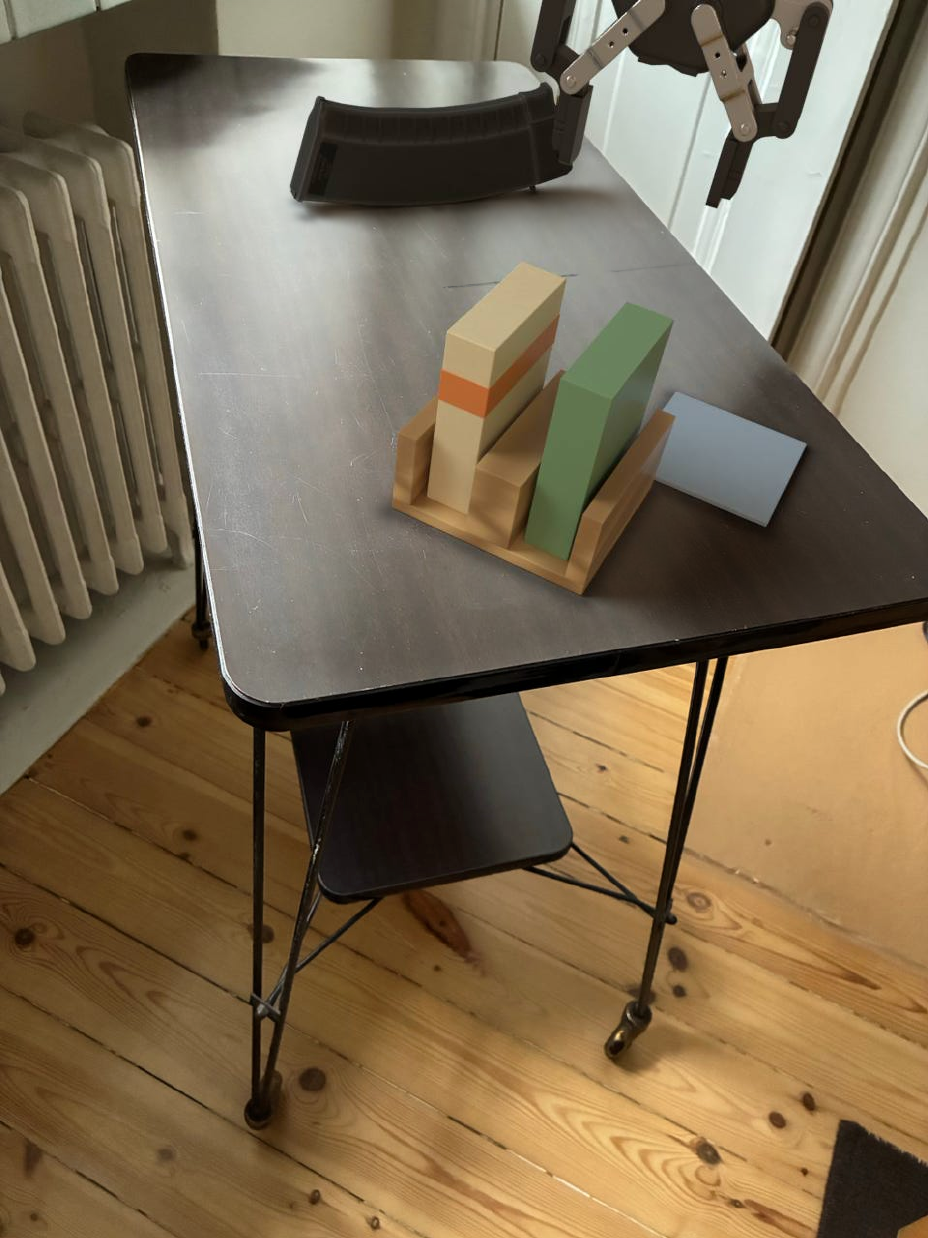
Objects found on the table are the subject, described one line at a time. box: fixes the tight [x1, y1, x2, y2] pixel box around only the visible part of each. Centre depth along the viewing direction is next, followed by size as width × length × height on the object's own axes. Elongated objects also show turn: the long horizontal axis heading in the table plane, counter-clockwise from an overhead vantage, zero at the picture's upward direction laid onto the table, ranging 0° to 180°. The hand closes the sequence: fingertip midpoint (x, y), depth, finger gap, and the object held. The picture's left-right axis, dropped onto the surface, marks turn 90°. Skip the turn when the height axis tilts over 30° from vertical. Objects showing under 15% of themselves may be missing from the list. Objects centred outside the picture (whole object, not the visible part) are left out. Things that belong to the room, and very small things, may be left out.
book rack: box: [391, 368, 676, 596], centre depth 73 cm, size 16×14×7 cm
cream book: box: [427, 261, 568, 515], centre depth 70 cm, size 4×11×14 cm, turn 152°
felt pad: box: [654, 391, 808, 528], centre depth 81 cm, size 12×12×1 cm
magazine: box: [289, 81, 574, 207], centre depth 101 cm, size 17×3×30 cm
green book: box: [523, 301, 675, 561], centre depth 68 cm, size 4×11×14 cm, turn 152°
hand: (640, 180), depth 55 cm, fingers open, 8 cm apart
